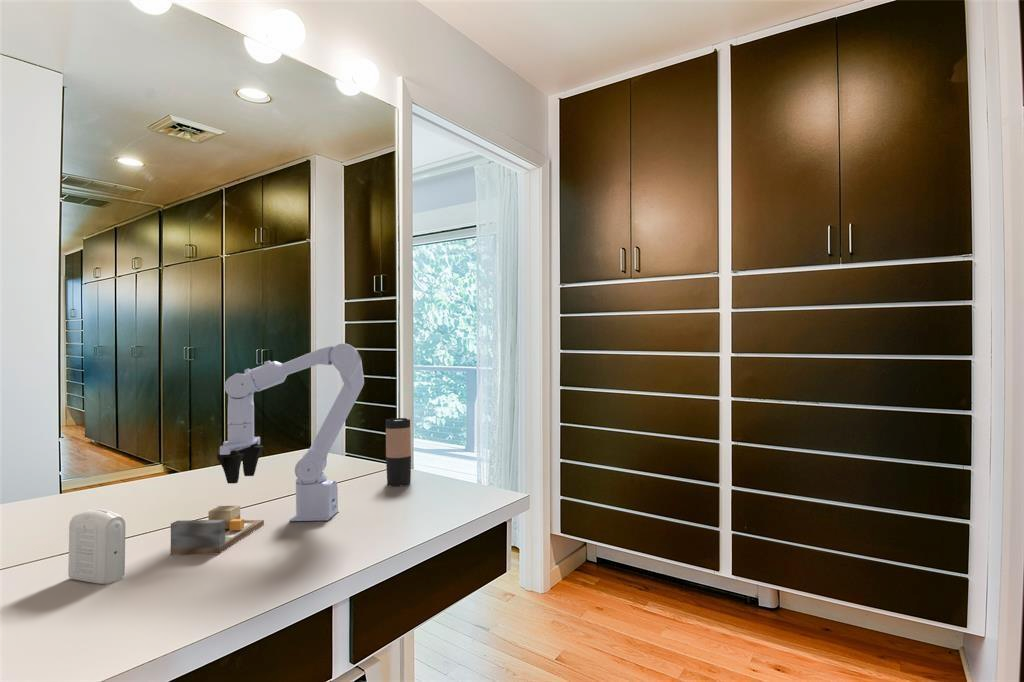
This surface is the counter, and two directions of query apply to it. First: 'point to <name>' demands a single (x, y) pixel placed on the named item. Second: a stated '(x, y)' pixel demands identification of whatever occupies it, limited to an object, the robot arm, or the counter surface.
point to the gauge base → (207, 535)
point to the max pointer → (237, 524)
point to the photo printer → (97, 546)
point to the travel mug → (398, 451)
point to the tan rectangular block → (224, 514)
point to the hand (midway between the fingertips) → (241, 479)
